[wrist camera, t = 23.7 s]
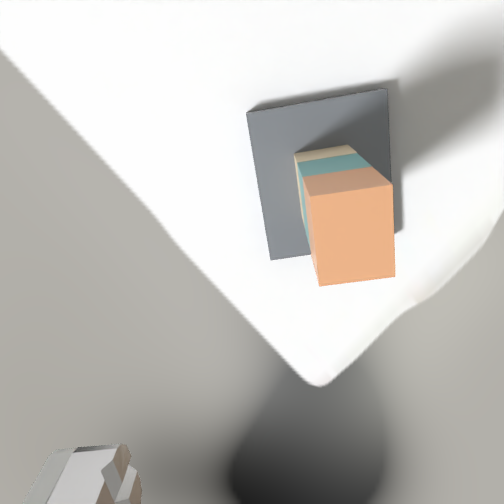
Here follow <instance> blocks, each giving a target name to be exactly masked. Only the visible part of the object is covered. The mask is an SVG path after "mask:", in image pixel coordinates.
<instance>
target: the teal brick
mask: <svg viewBox="0 0 504 504" xmlns="http://www.w3.org/2000/svg"><path fill="white" fill-rule="evenodd" d="M297 167H298V175H299V183H300V191H301V199H302V207H303V215H304V223H305V231H306V235H307V239H308V243H309V247H310V241H309V232H308V223H307V214H306V205H305V196H304V187H303V178H302V177H305V176H312V175H318V174H325V173H332V172H338V171H345V170H352V169H359V168H365V167H372V166H371V165H370V164H369V163H368V162H367V161H366V160H364V159H363V158H362V157H361V156H360V155H359V154H358V153H355V154H348V155H342V156H336V157H330V158H323V159H317V160H311V161H305V162H299V163H297ZM310 251H311V250H310Z"/></svg>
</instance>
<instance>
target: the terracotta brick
mask: <svg viewBox="0 0 504 504" xmlns="http://www.w3.org/2000/svg"><path fill="white" fill-rule="evenodd" d="M302 178H303V187H304V196H305V205H306V214H307V223H308V232H309V241H310V250H311V257H312V260H313V264H314V268H315V272H316V276H317V279H318V283H319V286H327V285H334V284H342V283H350V282H358V281H366V280H374V279H381V278H389V277H395V247H394V211H393V184H391V183H390V182H389V181H388V180H387V179H386V178H385V177H384V176H382V175H381V174H380V173H379V172H378V171H377V170H376V169H374V168H373V167H365V168H359V169H352V170H345V171H338V172H332V173H325V174H318V175H312V176H305V177H302Z"/></svg>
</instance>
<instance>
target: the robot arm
mask: <svg viewBox="0 0 504 504" xmlns="http://www.w3.org/2000/svg"><path fill="white" fill-rule="evenodd" d="M130 459H131V454H130V451H129V449H128V447H127V445H126V444H114V445H101V446H90V447H89V446H88V447H78V448H71V449H58V450H55V451H54V452H53V453H51V454H50V455H49V457H48V458H47V460H46V462H45V464H44V466H43V468H42V469H41V471H40V473H39V475H38V476H37V478H36V480H35V482H34V484H33V485H32V487H31V489H30V491H29V492H28V494H27V496H26V498H25V500H24V502H23V503H22V504H141V497H142V488H141V481H140V477H139V475H138V472H137V471H136V470H135V469H134V468H132V467H131V466H129V462H130Z"/></svg>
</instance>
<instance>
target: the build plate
mask: <svg viewBox="0 0 504 504" xmlns="http://www.w3.org/2000/svg"><path fill="white" fill-rule="evenodd" d="M246 116H247V122H248V128H249V134H250V140H251V146H252V152H253V158H254V164H255V170H256V176H257V182H258V188H259V194H260V200H261V206H262V212H263V218H264V224H265V230H266V236H267V241H268V247H269V253H270V259H271V260H276V259H283V258H290V257H297V256H304V255H311V251H310V247H309V243H308V239H307V235H306V231H305V223H304V215H303V207H302V199H301V191H300V183H299V175H298V167H297V163H299V162H305V161H311V160H317V159H323V158H330V157H336V156H342V155H348V154H355V153H358V154H359V155H360V156H361V157H362V158H363V159H364V160H366V161H367V162H368V163H369V164H370V165H371V166H372V167H373V168H374V169H376V170H377V171H378V172H379V173H380V174H381V175H382V176H384V177H385V178H386V179H387V180H388V181H389V182H390V183H391V165H390V141H389V118H388V94H387V89H383V88H382V89H377V90H371V91H366V92H360V93H354V94H349V95H343V96H337V97H332V98H326V99H320V100H315V101H309V102H303V103H298V104H292V105H286V106H281V107H275V108H269V109H264V110H258V111H252V112H247V113H246Z"/></svg>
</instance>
